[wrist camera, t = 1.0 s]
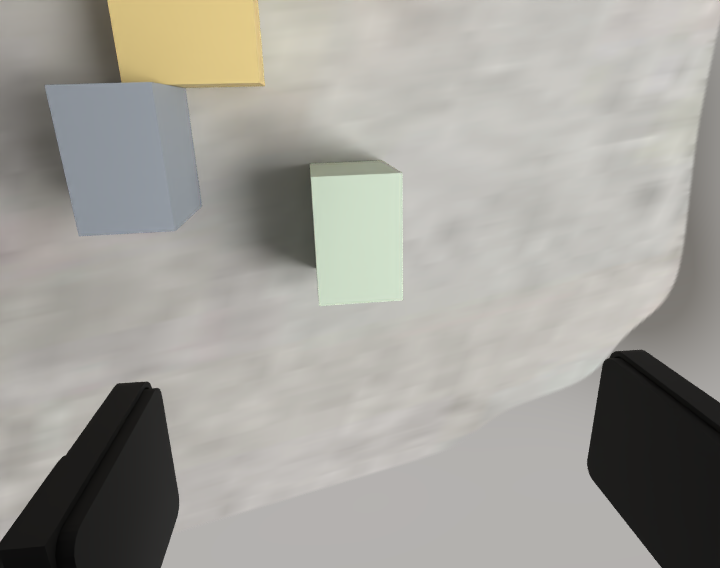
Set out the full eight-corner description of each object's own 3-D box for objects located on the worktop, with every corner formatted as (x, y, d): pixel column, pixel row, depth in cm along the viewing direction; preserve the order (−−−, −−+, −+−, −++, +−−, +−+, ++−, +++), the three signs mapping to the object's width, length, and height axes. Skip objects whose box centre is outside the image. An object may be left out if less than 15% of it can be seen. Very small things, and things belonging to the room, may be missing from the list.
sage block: (309, 163, 27) (310, 177, 21) (382, 160, 27) (402, 173, 22) (316, 268, 29) (319, 306, 23) (383, 264, 29) (402, 300, 24)
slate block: (103, 90, 25) (44, 84, 19) (185, 88, 25) (151, 81, 19) (126, 209, 27) (78, 236, 21) (202, 205, 27) (175, 231, 21)
